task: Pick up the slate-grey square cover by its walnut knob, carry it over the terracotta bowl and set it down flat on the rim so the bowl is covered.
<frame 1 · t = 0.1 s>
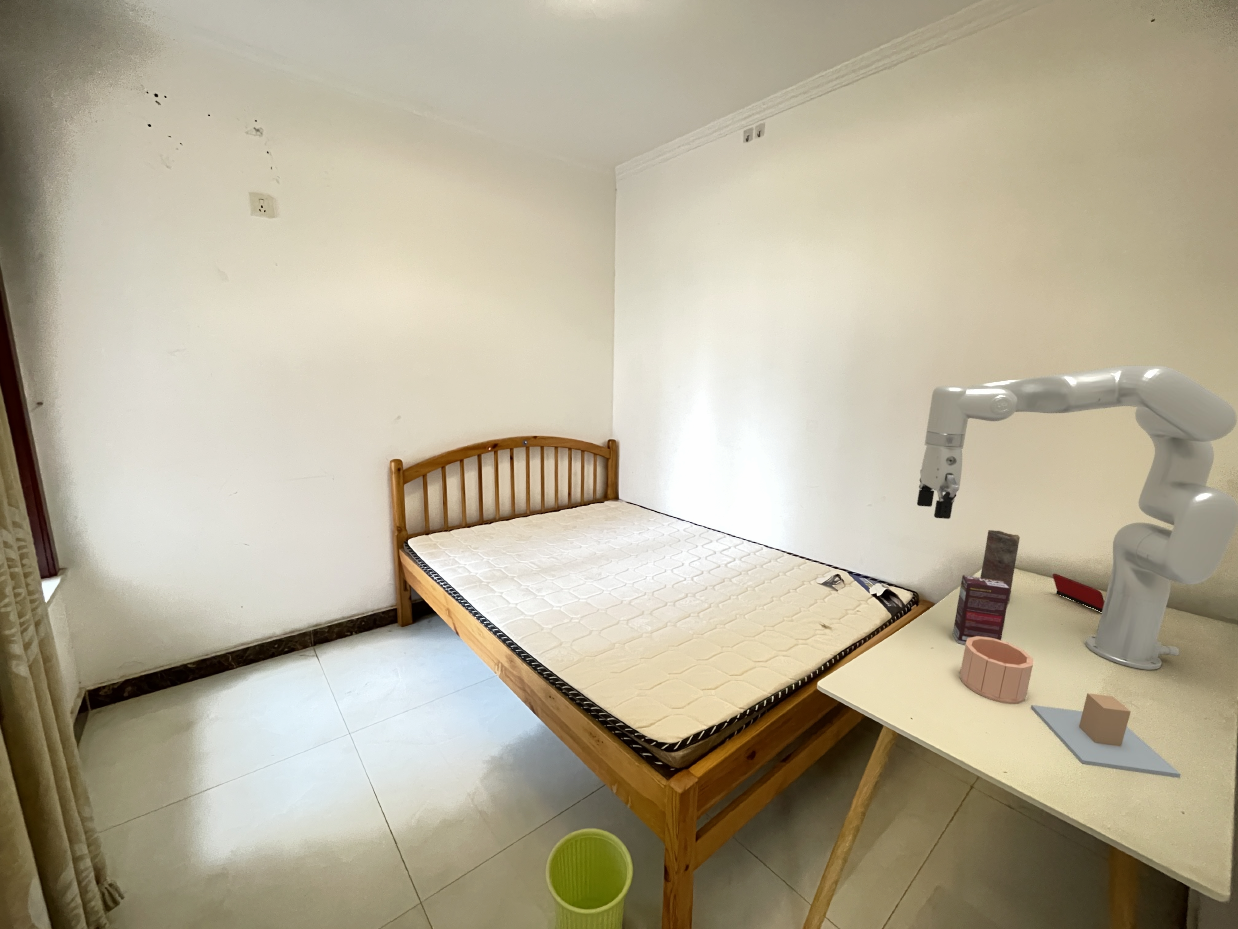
hand: (932, 511, 118), 31 cm above the table, tool pointing down, fingers open, 9 cm apart
cover: (1098, 742, 90), on the table
brown stone block: (992, 599, 144), on the table
bowl: (991, 685, 104), on the table
supplement box: (974, 642, 121), on the table
red slanted piece: (1083, 604, 142), on the table
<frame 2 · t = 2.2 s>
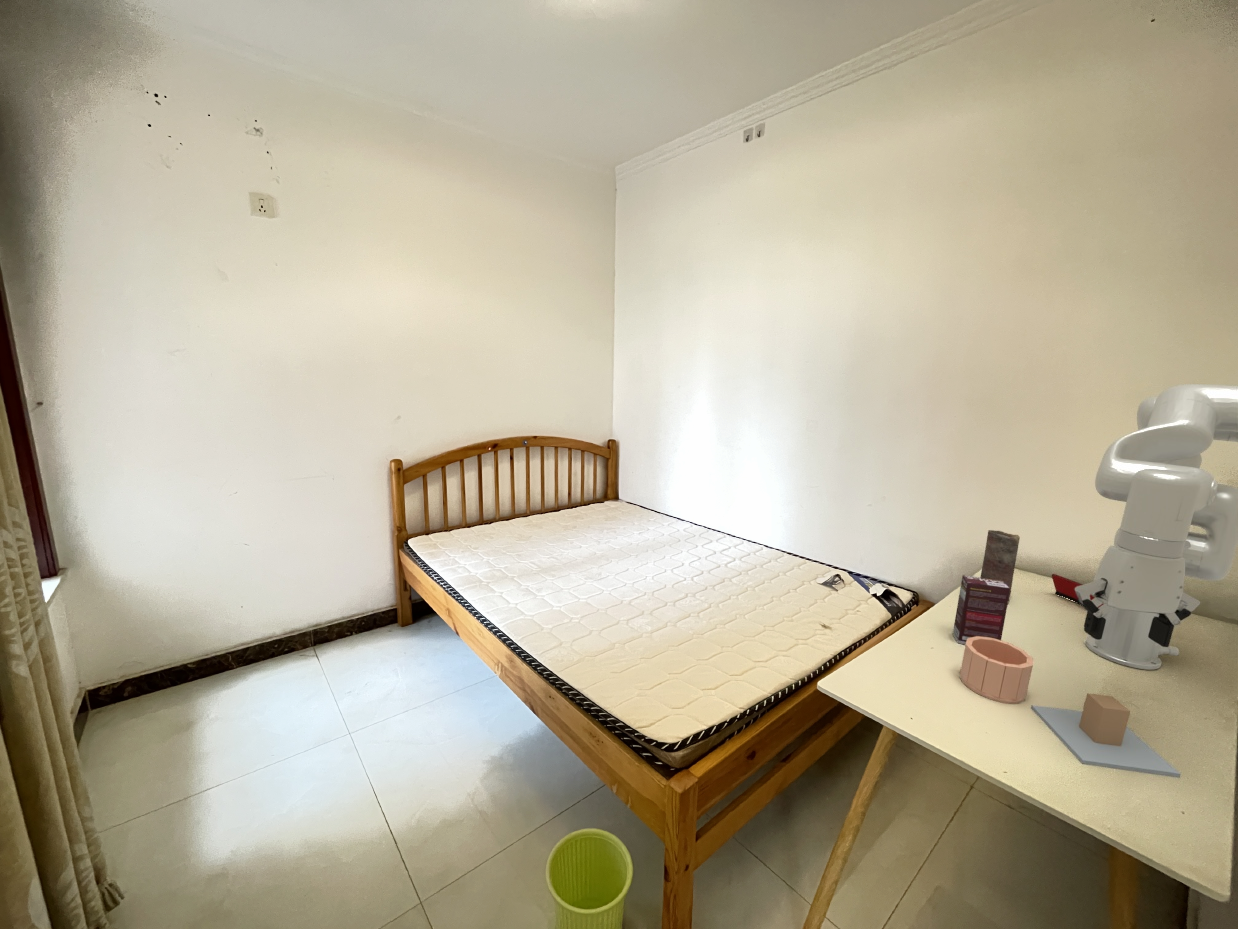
hand: (1124, 639, 85), 20 cm above the table, tool pointing down, fingers open, 9 cm apart
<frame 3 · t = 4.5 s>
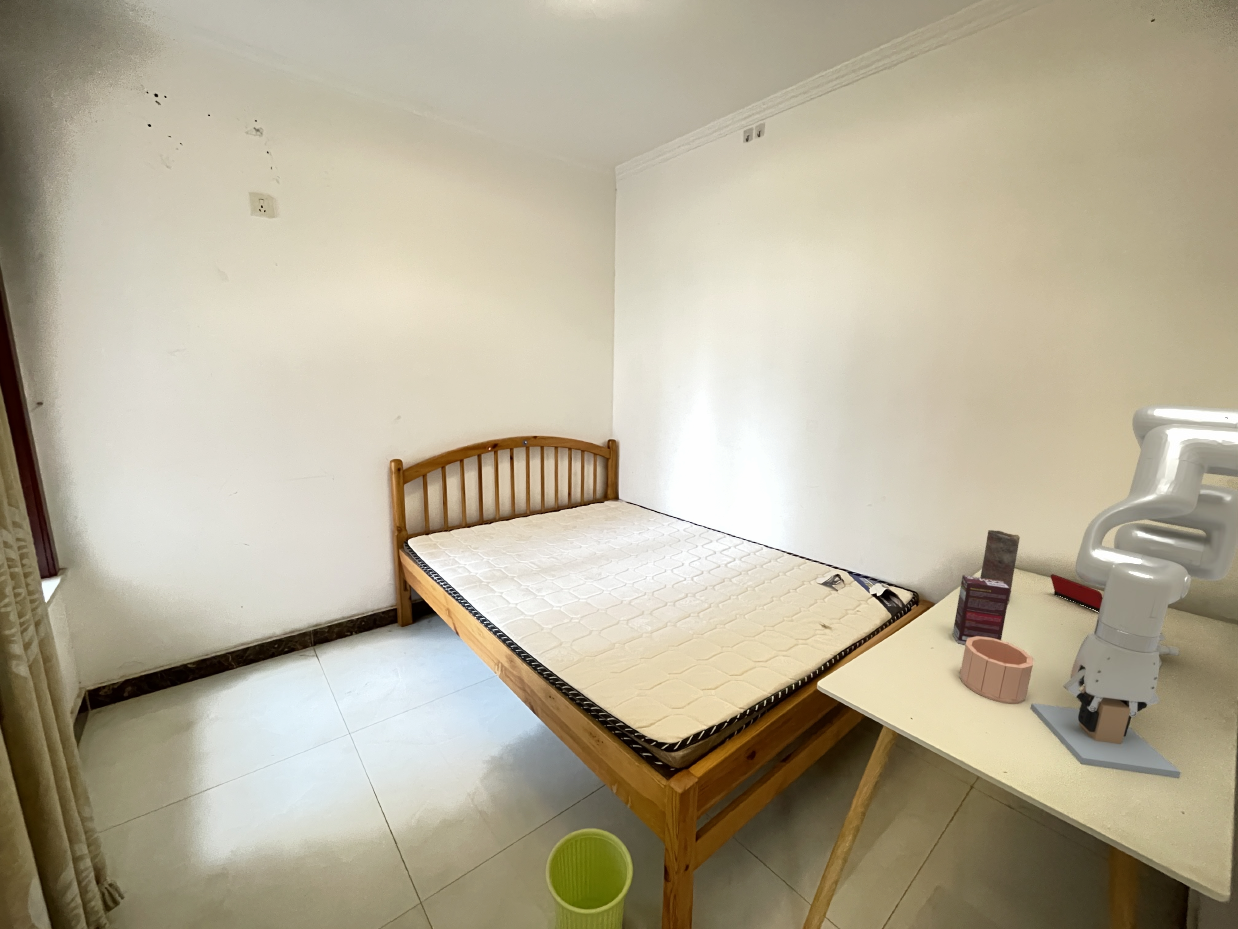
hand: (1101, 727, 89), 3 cm above the table, tool pointing down, fingers closed on cover, 4 cm apart
cover: (1098, 740, 90), on the table, touching gripper
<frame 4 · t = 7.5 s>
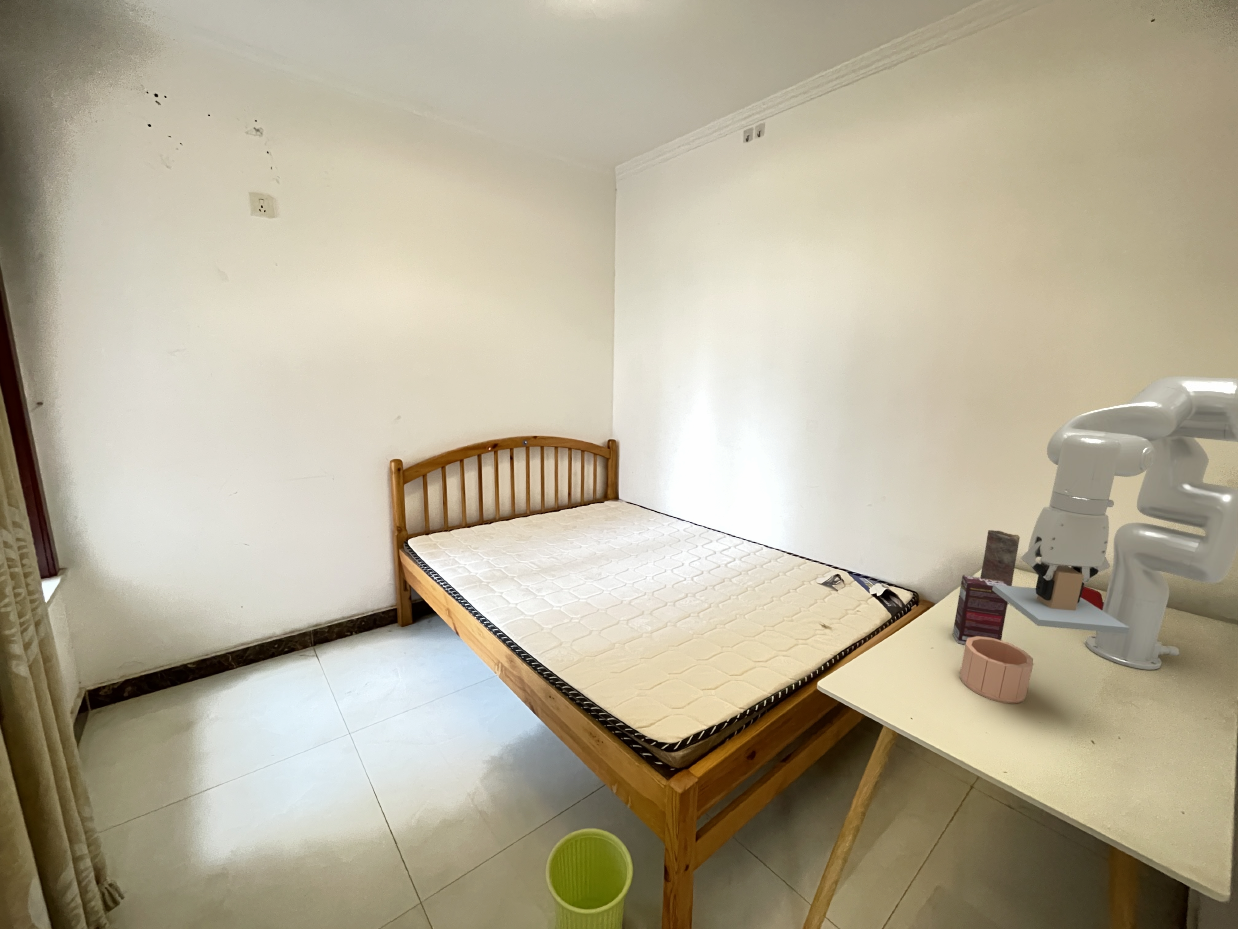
hand: (1056, 597, 93), 23 cm above the table, tool pointing down, fingers closed on cover, 4 cm apart
cover: (1054, 610, 94), point 21 cm above the table, touching gripper
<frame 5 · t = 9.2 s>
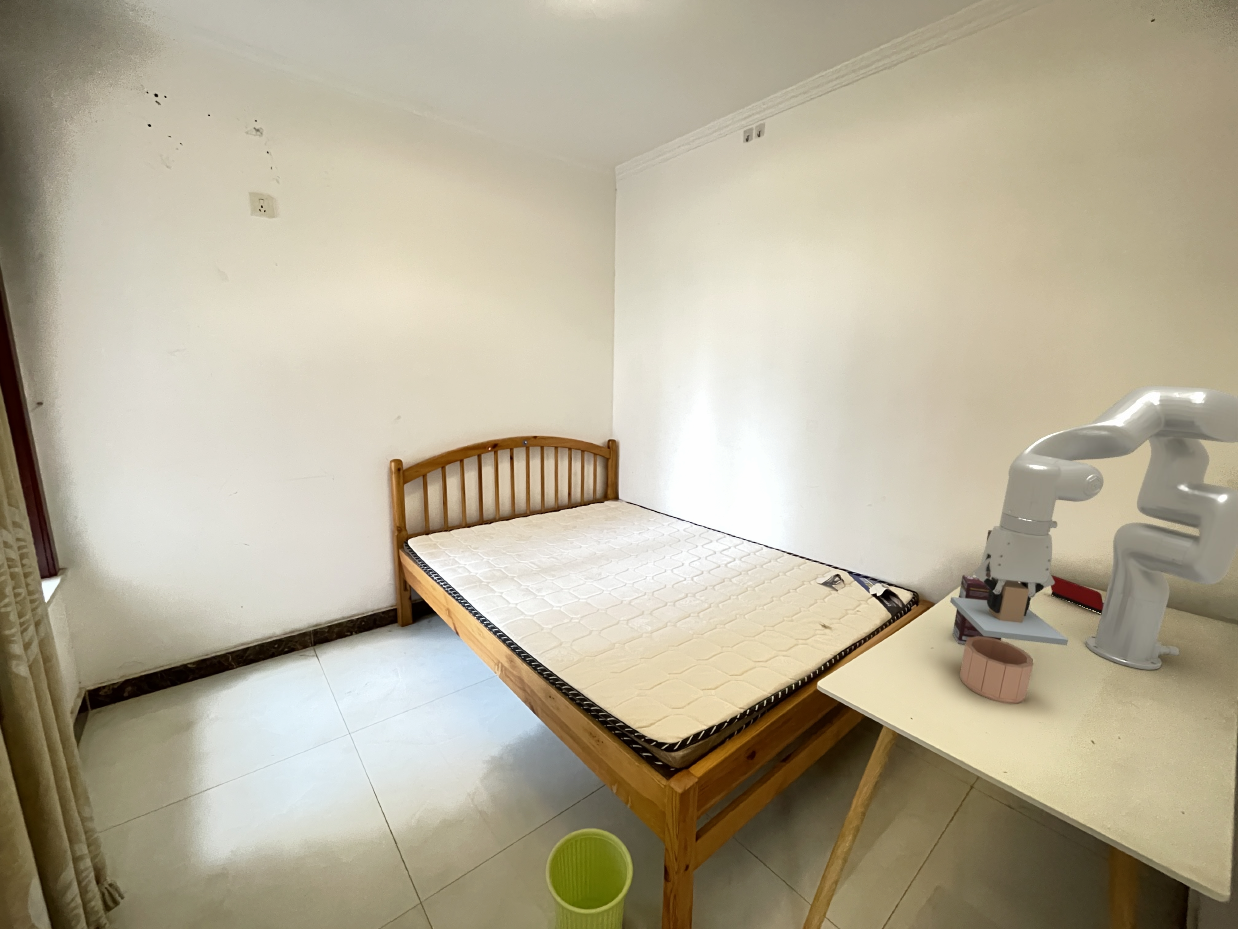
hand: (1006, 610, 100), 17 cm above the table, tool pointing down, fingers closed on cover, 4 cm apart
cover: (1003, 622, 101), point 15 cm above the table, touching gripper
when the fingers open (12 cm above the table, at t = 10.5 s): cover drops 1 cm, resting on bowl.
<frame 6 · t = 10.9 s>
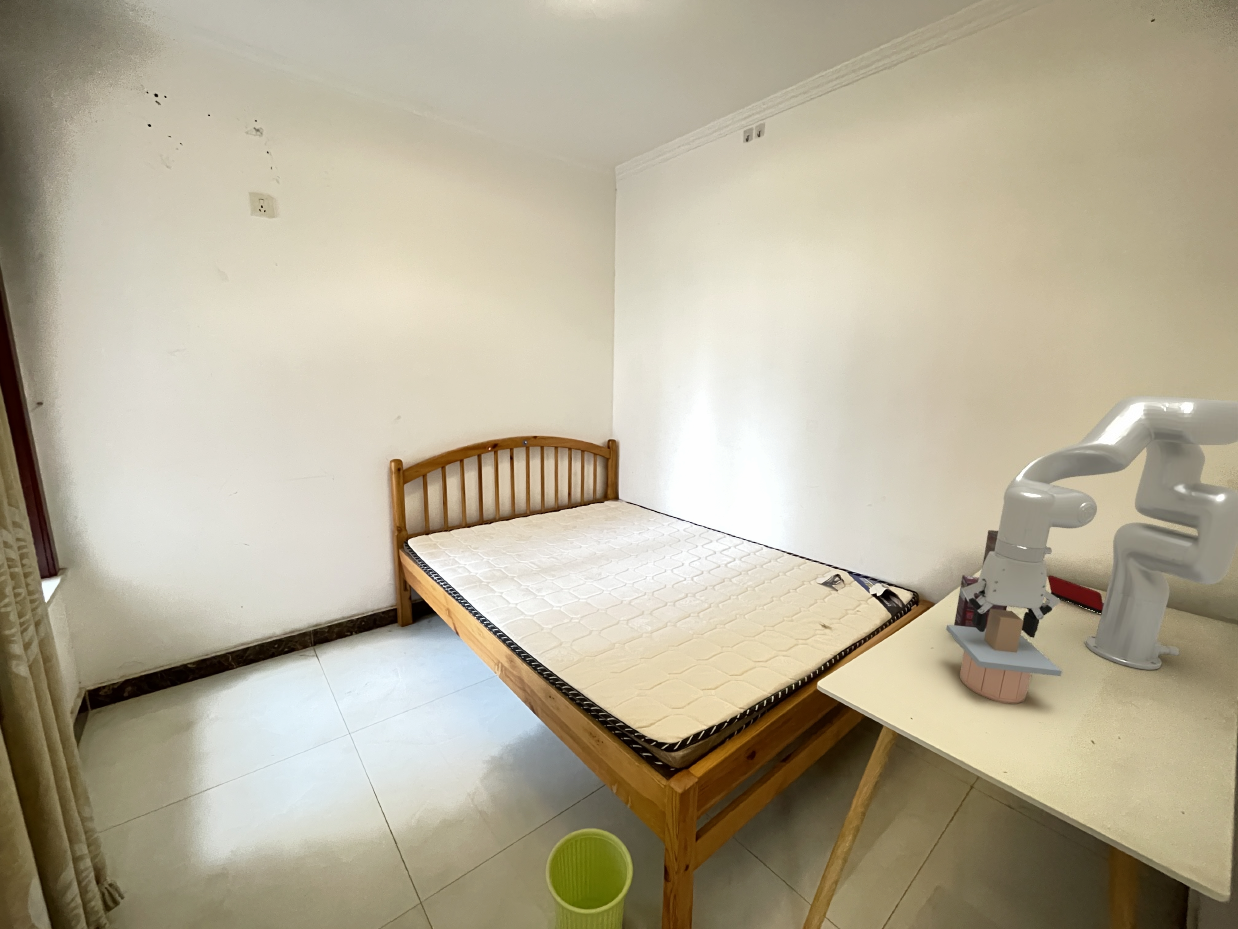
hand: (1002, 631, 101), 13 cm above the table, tool pointing down, fingers open, 8 cm apart
cover: (998, 651, 102), point 8 cm above the table, touching bowl
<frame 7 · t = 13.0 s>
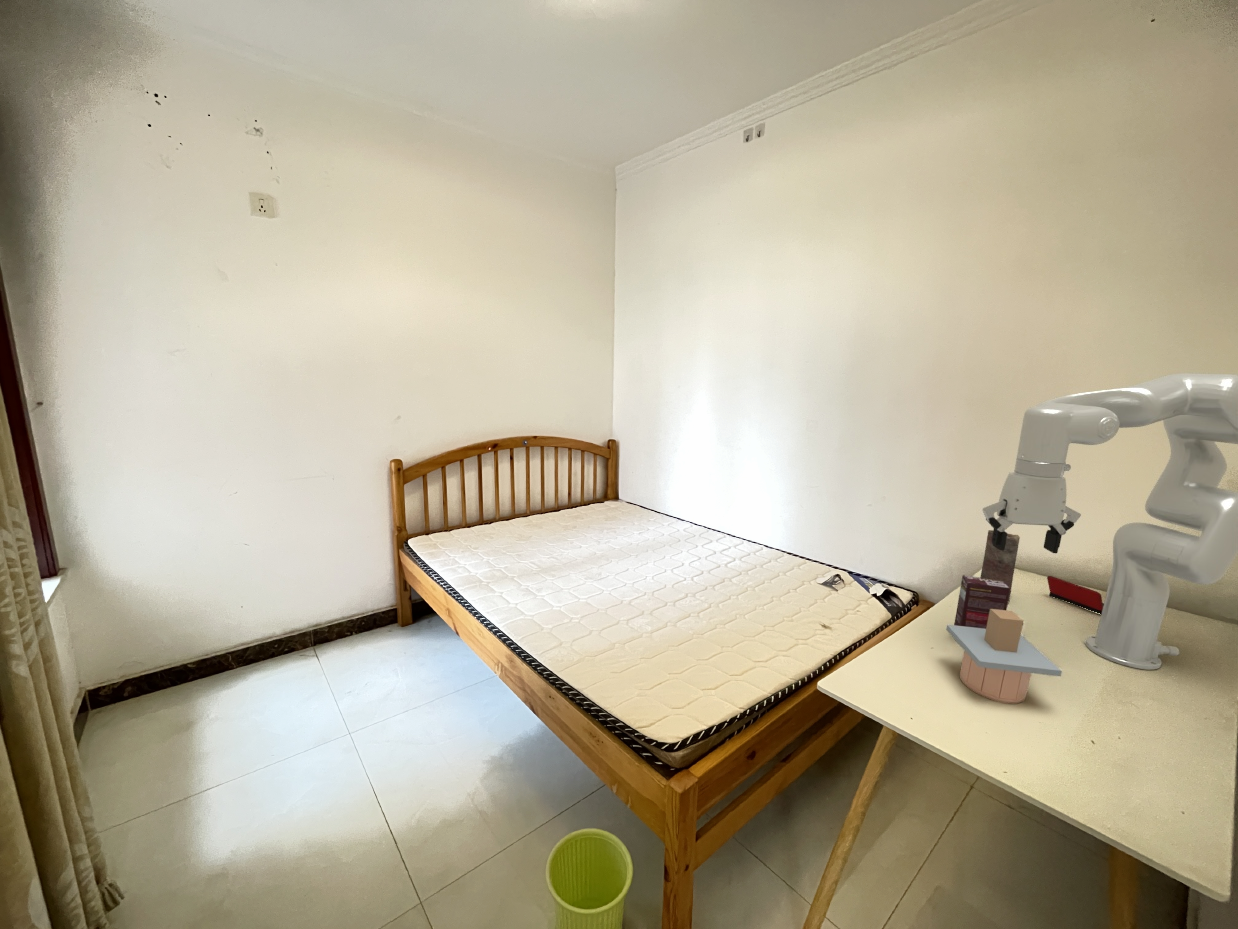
hand: (1023, 549, 103), 28 cm above the table, tool pointing down, fingers open, 9 cm apart
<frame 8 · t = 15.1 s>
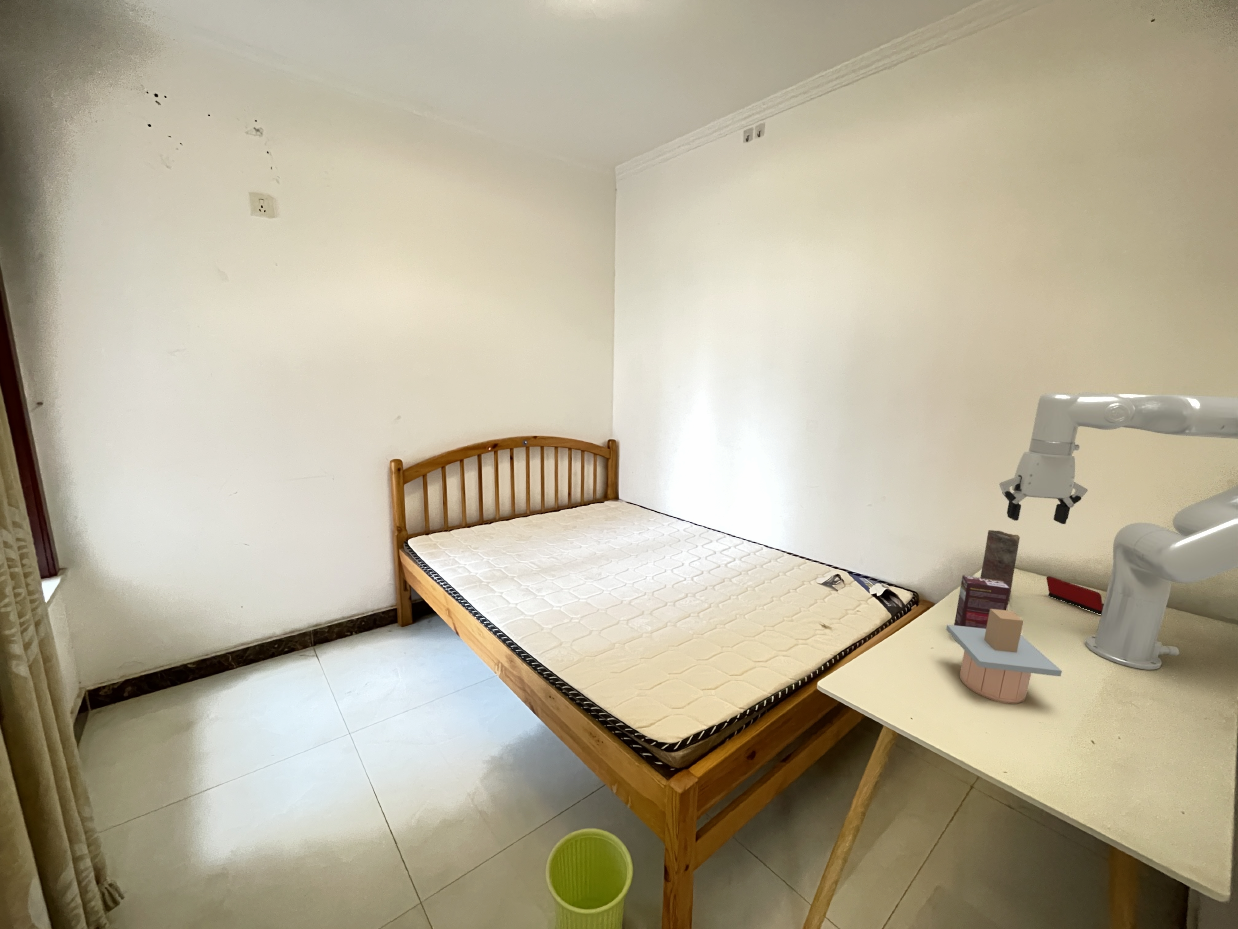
hand: (1035, 520, 116), 30 cm above the table, tool pointing down, fingers open, 9 cm apart
at the end: cover 0.1 cm off-centre on the bowl, point 8.0 cm above the bowl's base; cover tilted 0°; the gripper is holding nothing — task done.
